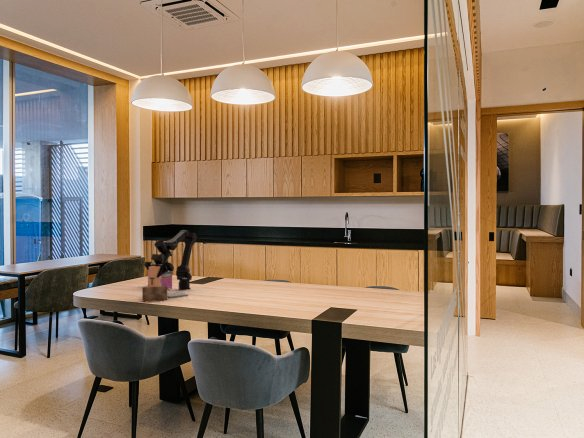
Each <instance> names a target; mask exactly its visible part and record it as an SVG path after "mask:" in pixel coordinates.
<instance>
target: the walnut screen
mask: <svg viewBox="0 0 584 438" xmlns="http://www.w3.org/2000/svg"><path fill="white" fill-rule="evenodd" d="M141 289H142V290H141V291H142V294H141V295H142V302H145V303H147V302H146V301H148V302H152V300H155V301H160V302H161V301H162V302H163V301H164V300H165V301H168V298H167V293H168V289H167V286H158V287H149V286H143V287H141Z"/></svg>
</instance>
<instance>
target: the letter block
mask: <svg viewBox="0 0 584 438" xmlns="http://www.w3.org/2000/svg"><path fill="white" fill-rule="evenodd" d="M159 270H160V266H151V267H149V286H148V287H158V286H161V276H160V277H158V278H157V274H158V272H159Z"/></svg>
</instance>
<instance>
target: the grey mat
mask: <svg viewBox="0 0 584 438" xmlns="http://www.w3.org/2000/svg"><path fill="white" fill-rule="evenodd" d="M183 296H184V297H188V296H189V294H188V293H185V292H181V291H175V292H169V293H168V292H167V297H168V298H167V299H174V298H175V297H176V298H182V297H183ZM184 297H183V298H184Z"/></svg>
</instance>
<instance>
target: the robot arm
mask: <svg viewBox="0 0 584 438" xmlns="http://www.w3.org/2000/svg"><path fill="white" fill-rule="evenodd" d="M197 239H198V235H197V234H196V232H193V231H189V230H187V229H186V230H185V229H182V230H180V231H179V232H178V233H177V234H176V235H175V236H173V237H172V238H171V239H168V240H166V241H164V239H163V238H160V239H159V240H157V241H155V243H154V247H155V249H156V250H157V251H158V253H159V254H158V253H152V254H151V258H150V259H151V260H152V261H153V262H152V261H145V262H144V264H143V266H144V267H145V269H146V270H147V271H148V270H149V267H151V266H160V270H159V272H158V274H157V278H158V277H160V276H161V275H163V274H164V273H166V272H168V270H169V271H172V272H173V271H174V270H175V267H174V265H173V264H172V262H169V261H168V260H169V258H170V257H173V253H172V252H171V251H175V250H177V247H178V245H179V243H180V242H182V241H183V242H184V247H183V252H182V253H183V254H182V257H181V263H180V265H177V267H176V270H175V275H176V280H178V288H179V290H181V291H182V290H183V291H184V290H190V289H191V288H192V287H190V285H191V284H190V283H191V282H190V281H191V280H192V278H193V276H192V274H191V273H190V271H191V270H190V267H189V265H190V258H191V253H192V249H193V246H194V245H195V243H196V241H197Z"/></svg>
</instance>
